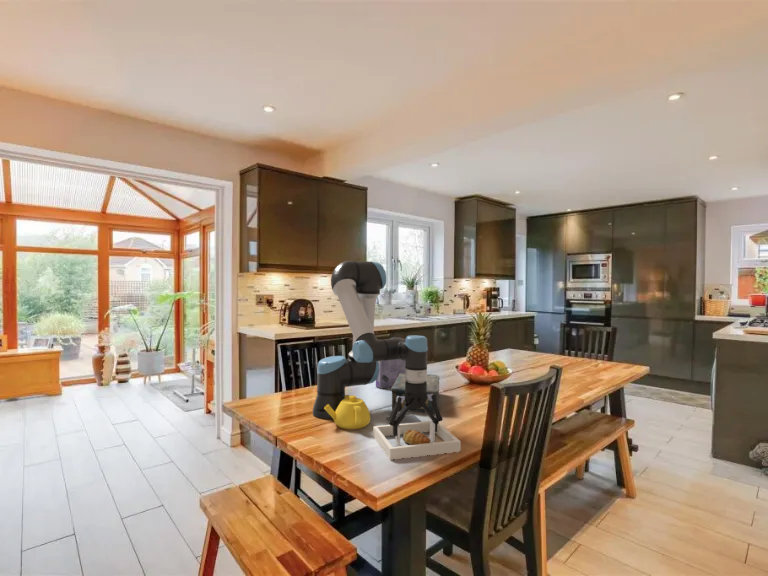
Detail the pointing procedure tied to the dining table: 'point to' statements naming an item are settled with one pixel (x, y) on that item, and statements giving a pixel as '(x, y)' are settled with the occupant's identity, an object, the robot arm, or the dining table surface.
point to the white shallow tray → (420, 449)
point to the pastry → (415, 438)
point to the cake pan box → (389, 372)
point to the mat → (409, 419)
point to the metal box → (432, 387)
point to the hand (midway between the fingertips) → (415, 443)
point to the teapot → (350, 413)
